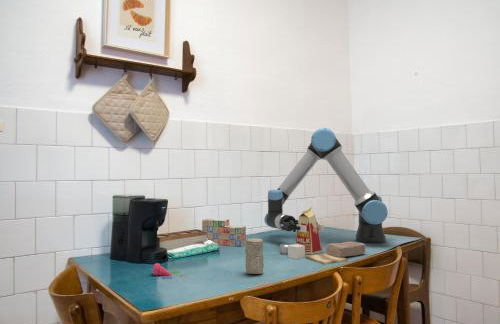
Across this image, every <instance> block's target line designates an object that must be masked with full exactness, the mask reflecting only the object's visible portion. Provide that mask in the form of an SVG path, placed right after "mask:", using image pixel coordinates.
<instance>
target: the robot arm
mask: <svg viewBox="0 0 500 324" xmlns="http://www.w3.org/2000/svg"><path fill="white" fill-rule="evenodd" d="M342 148H343V145H342V144H341V143H340V141H339V139H338V138H337V137H336V135H335V133H334V131H333V130H332V129H330V128H327V127H321V128H318V129H316V130H314V132H313V133H312V135H311V137H310V143H309V145H308V146H307V148H306V152H305V154H303V156H302V157H301V158H300V160H299V161H298V162H297V163H296V165H295V166H294V167H293V169H292V170H291V171H290V172H289V174H288V175H287V177H285V178H284V180H283V181H282V182H281V184H280V185H279V187H278V188H277V189H269V190H268V191H267V209H268V210H267V213H266V214H265V216H264V223H265V225H266V226H267V227H269V228H271V229H272V228H273V229H278V230H281V231H282V232H283V231H285V232H293V233H297V231H300V232H304V233H306V226H303V225H298V219H296V218H295V217H294V216H292V215H289V214H284V213H283V209H284V208H283V205H284V204H285V203H286V201H288V199H289V197H290V196H291V195H292V194H293V192H294V191H295V189H297V188H298V186H299V185H300V183H301V182H302V181H303V180H304V178H305V177H306V176H307V175H308V173H309V172H310V171H311V170H312V169H313V167H314V166H315V165H316V164H317V162H318V161H320V160H322V161H323V160H325V161H326V162H327V163H328V164H329V166H330V167H331V168H332V170H333V172H335V175H337V176H338V178H339V180H340V181H341V183H342V184H343V185H344V187H345V188H346V190H347V192H349V194H350V196H351V197H352V198H353V200H354V206H355V208H356V209H357V211H358V227H357V230H356V234H355V239H354V240H355V241H357V242H360V243H371V244H372V243H374V244H375V243H376V244H377V243H378V244H379V243H385V242H386V241H387V236H386V235H385V231H384V228H383V222H385V221H386V219H387V218H388V211H389V210H388V208H387V206H386V204H385V203H384V202H383V200H382V197H381V196H380V195H377V193H376V192H375V191H374V190H373V191H372V190H370V188H369V187H368V186H367V185H366V183H365V182H364V180H363V178H362V177H361V176H360V175H359V174H358V172H357V170H356V169H355V167H354V166H353V165H352V164H351V162H350V161H349V159H348V158H347V157H346V155H345V153H344V152H343V150H342ZM317 226H318V231H320V232H324V224H321V223H318V222H317Z"/></svg>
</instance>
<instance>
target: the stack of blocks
mask: <svg viewBox="0 0 500 324" xmlns="http://www.w3.org/2000/svg"><path fill="white" fill-rule="evenodd" d="M246 228H247V227H246V225H230V219H229V218H228V219H227V218H205V219H202V220H201V230H202V231H207V238H208V240H211V241H213V242H215V243H217V244H219V245H218V246H223V247H224V246H226V247H238V248H239V247H240V248H241V247H243V246H244V247H245V245H246V241H247V238H246V236H247V235H246V233H247V232H246V230H247V229H246ZM202 231H201V232H202Z"/></svg>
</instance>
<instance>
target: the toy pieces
mask: <svg viewBox="0 0 500 324" xmlns="http://www.w3.org/2000/svg"><path fill="white" fill-rule="evenodd" d="M152 268H153V270H152V271H153V275H154V276H155V275H156V277H157V276H158V275H159V276H161V277H162V279H161V280H165V279H170V280H173V276H172V275H180V277H182V276H184V275H185V274H182V273H181V272H182V271H180V270H171V271H170V272H169V270H167V269H166V268H164V266H161V264H160V263H157V262H156V263H154V265H153V267H152ZM178 273H179V274H178ZM167 275H168V276H167ZM184 277H185V276H184Z"/></svg>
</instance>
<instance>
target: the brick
mask: <svg viewBox="0 0 500 324" xmlns="http://www.w3.org/2000/svg"><path fill="white" fill-rule="evenodd" d="M365 252H366V244H365V243H364V242H358V241H357V242H356V241H344V242H332V243H327V244H326V250H325V254H326V253H327V254H328V255H332V256H337V257H343V258H346V257H352V256H353V257H354V256H359V255H362V254H363V255H364V254H365Z"/></svg>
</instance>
